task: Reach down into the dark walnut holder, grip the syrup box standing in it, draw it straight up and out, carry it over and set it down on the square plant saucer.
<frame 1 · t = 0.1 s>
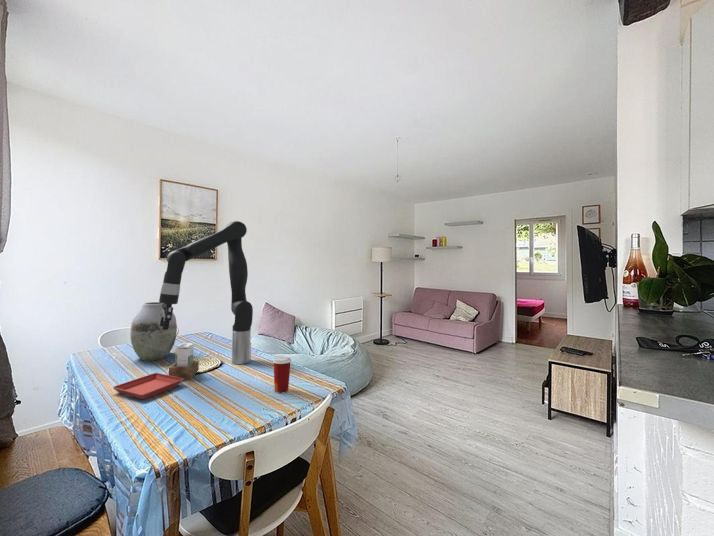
hand: (163, 327, 142), 22 cm above the table, tool pointing down, fingers open, 8 cm apart
syrup box: (184, 375, 143), resting in holder
plant saucer: (149, 390, 127), on the table
vase: (154, 357, 169), on the table
holder: (184, 375, 143), on the table
paper cup: (281, 390, 130), on the table
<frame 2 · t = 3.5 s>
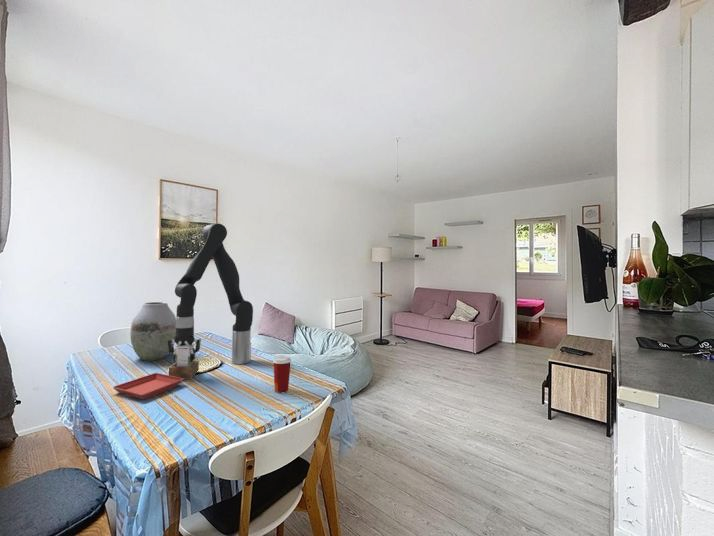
hand: (184, 361, 143), 7 cm above the table, tool pointing down, fingers closed on syrup box, 6 cm apart
syrup box: (184, 375, 144), resting in holder, touching gripper
everything else where it was.
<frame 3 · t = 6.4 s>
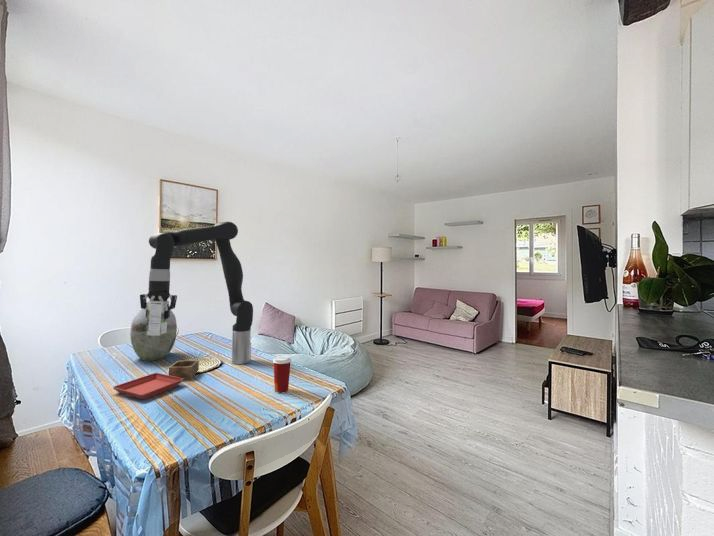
hand: (157, 318, 130), 29 cm above the table, tool pointing down, fingers closed on syrup box, 6 cm apart
syrup box: (156, 334, 130), point 22 cm above the table, touching gripper
everything else where it was.
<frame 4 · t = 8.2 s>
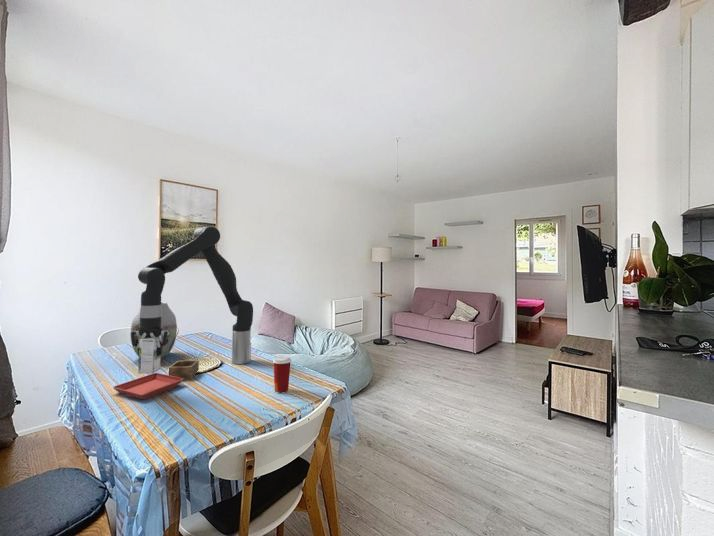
hand: (150, 355, 127), 14 cm above the table, tool pointing down, fingers closed on syrup box, 6 cm apart
syrup box: (149, 372, 127), point 7 cm above the table, touching gripper
everything else where it was.
when the fingers open (10 cm above the table, at t = 9.6 s): syrup box drops 1 cm, point 2 cm above the table.
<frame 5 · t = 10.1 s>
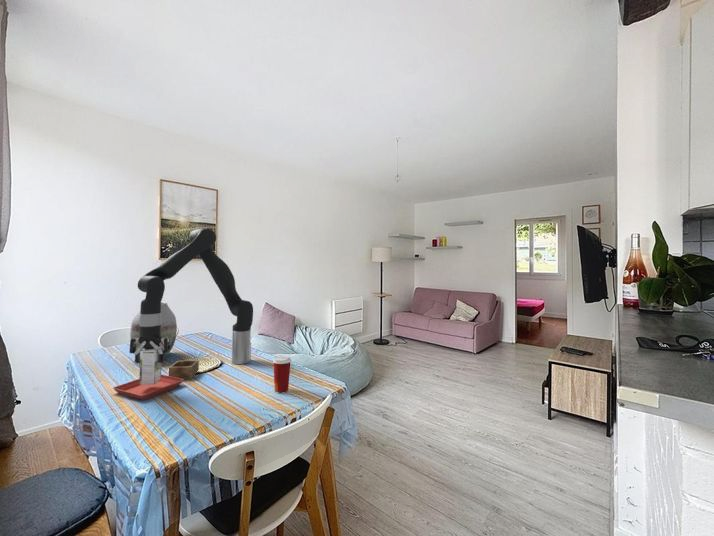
hand: (149, 362, 127), 11 cm above the table, tool pointing down, fingers open, 8 cm apart
syrup box: (150, 383, 128), point 2 cm above the table
everything else where it was.
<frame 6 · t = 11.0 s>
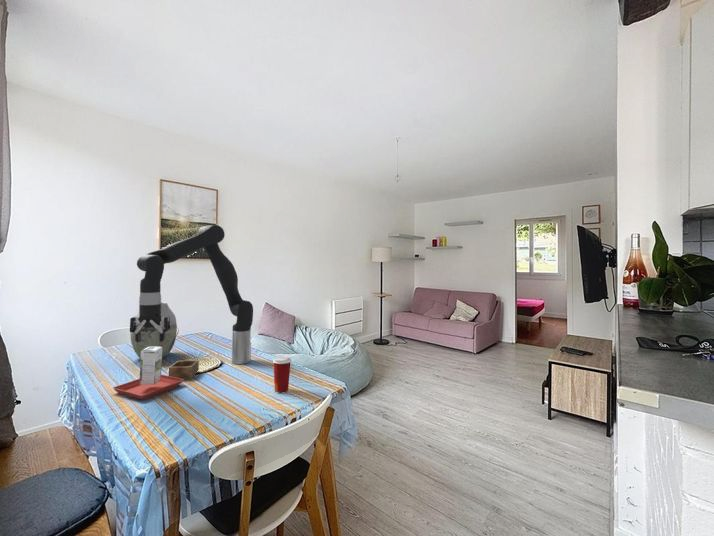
hand: (150, 341, 127), 20 cm above the table, tool pointing down, fingers open, 8 cm apart
syrup box: (150, 383, 128), point 2 cm above the table, touching plant saucer
plant saucer: (149, 391, 127), on the table, touching syrup box
everything else where it was.
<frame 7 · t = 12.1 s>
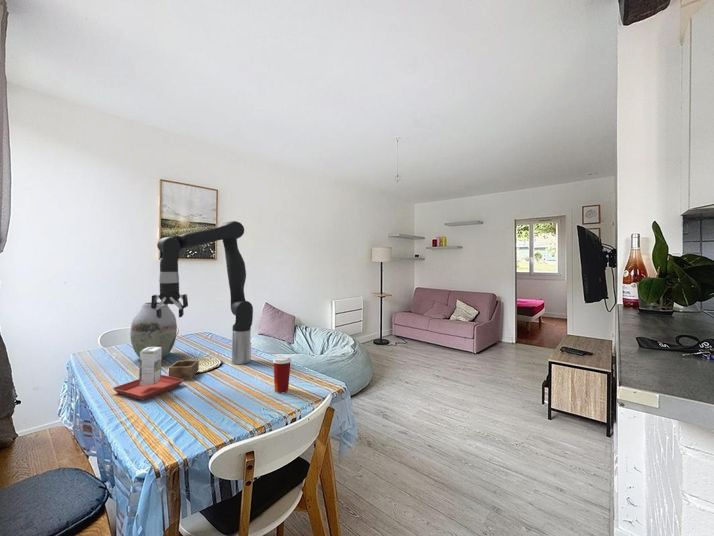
hand: (170, 317, 138), 28 cm above the table, tool pointing down, fingers open, 8 cm apart
nothing on the table moved.
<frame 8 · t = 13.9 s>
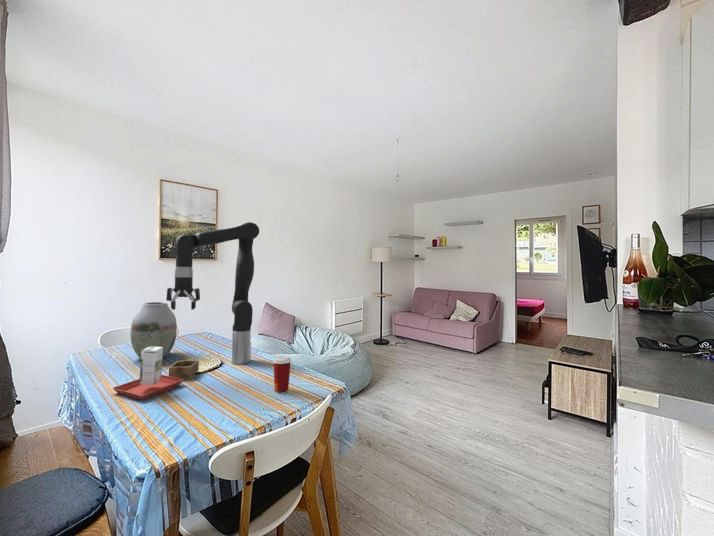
hand: (183, 309, 148), 30 cm above the table, tool pointing down, fingers open, 8 cm apart
nothing on the table moved.
at the end: syrup box 0.5 cm from the plant saucer (horizontally); syrup box point 2.5 cm above the table; the gripper is holding nothing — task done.
